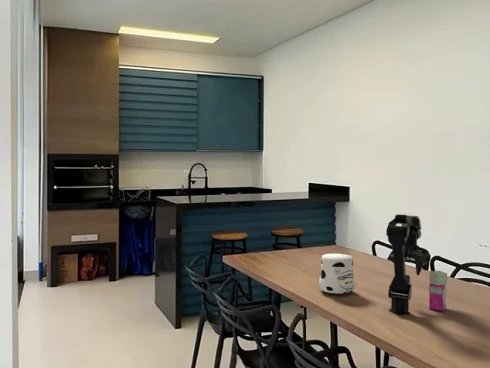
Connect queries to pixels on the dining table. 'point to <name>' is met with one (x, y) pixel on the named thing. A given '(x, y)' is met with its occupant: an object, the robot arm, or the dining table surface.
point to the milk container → (337, 274)
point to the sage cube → (438, 278)
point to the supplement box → (437, 297)
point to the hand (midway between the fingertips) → (409, 276)
